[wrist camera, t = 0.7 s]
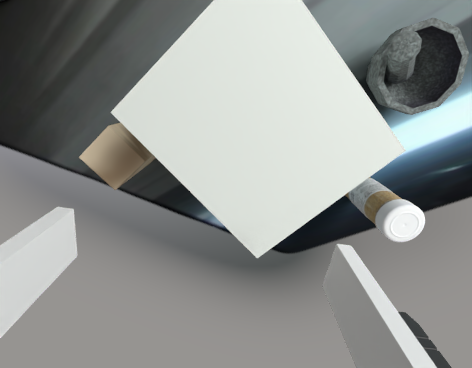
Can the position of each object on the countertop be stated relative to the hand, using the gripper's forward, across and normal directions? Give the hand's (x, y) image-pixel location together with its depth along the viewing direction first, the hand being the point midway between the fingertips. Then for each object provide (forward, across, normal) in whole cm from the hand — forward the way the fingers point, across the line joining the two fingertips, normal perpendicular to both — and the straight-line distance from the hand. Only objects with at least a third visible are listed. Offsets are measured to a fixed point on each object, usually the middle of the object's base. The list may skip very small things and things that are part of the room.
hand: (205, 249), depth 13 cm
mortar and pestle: (+28, +20, +13) cm, 36 cm away
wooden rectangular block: (+28, -8, +2) cm, 29 cm away
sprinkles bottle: (+27, +21, -4) cm, 34 cm away
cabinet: (+28, +3, +5) cm, 28 cm away
